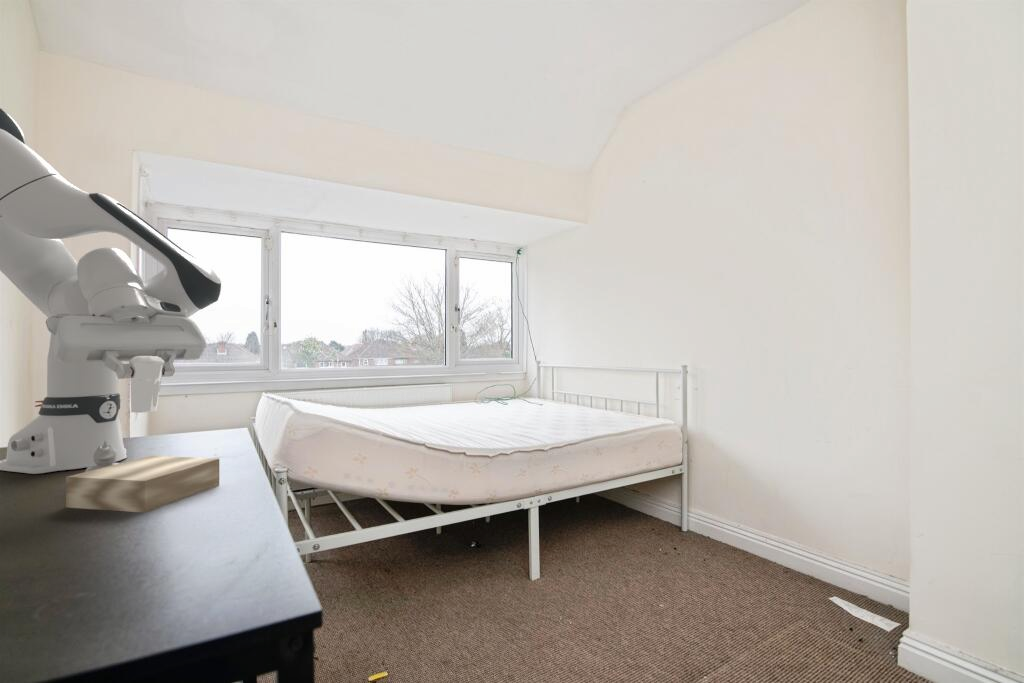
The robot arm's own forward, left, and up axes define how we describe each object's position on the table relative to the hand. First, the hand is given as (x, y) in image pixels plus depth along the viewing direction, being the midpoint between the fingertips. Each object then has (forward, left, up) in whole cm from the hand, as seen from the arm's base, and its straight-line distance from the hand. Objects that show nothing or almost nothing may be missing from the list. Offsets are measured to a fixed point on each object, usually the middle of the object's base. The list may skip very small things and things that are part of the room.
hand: (148, 375), depth 78 cm
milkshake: (0, 0, -6) cm, 6 cm away
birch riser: (0, 0, -20) cm, 20 cm away
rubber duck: (-13, +5, -20) cm, 25 cm away
